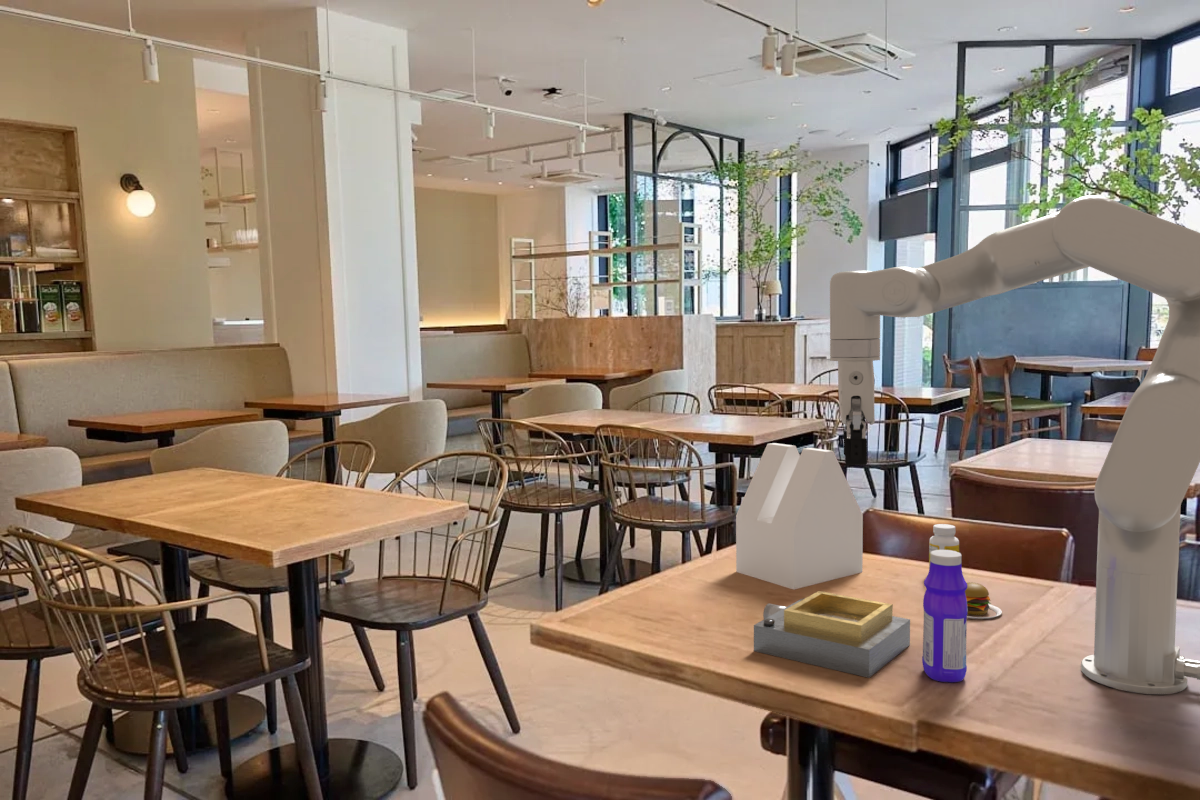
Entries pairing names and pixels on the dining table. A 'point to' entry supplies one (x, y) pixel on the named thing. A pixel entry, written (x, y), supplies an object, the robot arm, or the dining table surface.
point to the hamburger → (979, 601)
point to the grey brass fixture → (833, 633)
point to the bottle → (945, 618)
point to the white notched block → (798, 520)
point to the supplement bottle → (943, 539)
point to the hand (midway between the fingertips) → (855, 460)
